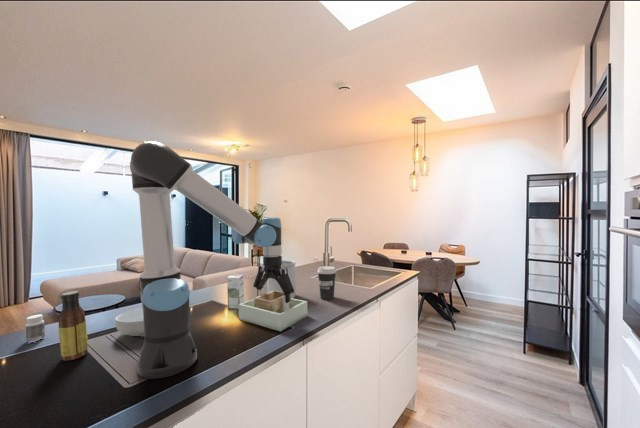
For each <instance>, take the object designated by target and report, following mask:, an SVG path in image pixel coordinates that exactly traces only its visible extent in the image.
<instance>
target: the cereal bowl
mask: <svg viewBox="0 0 640 428" xmlns="http://www.w3.org/2000/svg"><path fill="white" fill-rule="evenodd" d="M114 322H115V324H114V325H115V328H116V330H117V331H118V332H119V333H120V334H122V335H126V336H131V335H132V336H131V337H133V336H141V337H144V336H143V335H144V320H143V307H138V308H134V309H131V310H128V311H125V312H122V313H120V314H118V315H117V316H116V317H115V320H114Z"/></svg>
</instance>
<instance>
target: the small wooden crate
mask: <svg viewBox="0 0 640 428" xmlns="http://www.w3.org/2000/svg"><path fill="white" fill-rule="evenodd" d="M283 295H284V292H280V291H275V290H274V291H272V292H269V293H268V292H266V293H264V295H261V296H256V297H254V298H253V299H254V307H256V308H260V309H264V310H268V311H272V312H276V313H282V312H284V311H283ZM290 308H291V294H290V302H289V309H290Z"/></svg>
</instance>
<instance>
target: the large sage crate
mask: <svg viewBox="0 0 640 428" xmlns="http://www.w3.org/2000/svg"><path fill="white" fill-rule="evenodd" d="M308 315H309V314H308V301H307V300H302V299H297V298H291V308H290V309H288V310H286V311H284V312H282V313H276V312H272V311H268V310H264V309H260V308H256V307H254V298H252V299H250V300H246V301H244V303H241V304H239V309H238V320H241V321H244V322H247V323H251V324H254V325H258V326H261V327H264V328H267V329H271V330H274V331H278V332H282V331H283V330H286V329H287V328H289V327H291V326H293V325H294V324H296V323H298V322H299V321H301V320H302V319H305V318H306V317H308Z"/></svg>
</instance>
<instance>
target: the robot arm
mask: <svg viewBox="0 0 640 428" xmlns="http://www.w3.org/2000/svg"><path fill="white" fill-rule="evenodd" d="M129 167H130V172H131V184H132V191H134V192H135V193H137V195H138V199H139V200H138V201H139V211H140V212H139V213H140V225H141V228H140V229H141V238H142V239H141V240H142V250H143V264H144V265H143V266H144V270H143V271H142V272H141V274H140V275H139V285H140V292H139V293H140V294H139V297H140V302H141V306H142V307H141V308H143V320H144V336H143V345H142V347H141V350H140V354H139V356H138V359H137V363H136V364H137V365H136V367H137V368H136V371H137V375H138V376H139V377H141V378H143V379H149V380H150V379H151V380H156V379H164V378H167V377H168V378H169V377H172V376H175V375H177V374H179V373H182V372H183V371H186V370H188V369H189V368H190V367H191V366H193V365H194V364H195V363H196V361H197V359H198V352H197V347H196V344H195V341H194V339H193V336H192V334H191V325H190V323H191V320H190V319H191V318H190V316H191V315H190V295H191V294H190V293H191V292H190V287H189V284H188V282H186V280H184V279H182V277H181V269H180V268H178V267H177V266H176V265H175V263H176V262H175V251H174V248H175V247H174V238H173V237H174V235H173V222H172V221H173V220H172V209H171V193H172V192H173V191H177V192H179V193H180V194H181V195H183V196H184V197H186V199H188V200H190V201H192V203H194V204H196V205H197V206H199V207H200V208H202V209H203V210H205V211H206V213H209V214H210V215H212V216H214V218H217V220H219V221H221V222H222V223H224V224H225V225H226V226H228V227H229V228H231V237H232V238H231V239H232V241H233V243H234V244H235V245H238V244H241V245H242V244H249V245H253V246H257V247H260V248H262V255H263V257H262V265H260V266H258V269H257V274H256V277H255V279H254V282H253V284H252V285H253V288H255V289H256V291H257V292H256V293H257V294H256V295H257V296H256V297H258V296H261V295H264V294H265V288H264V286H265V284H267V280H268V278H272V279H275V280H276V281H277V282H278V284H279V285H280V287H281V289H282V291H283V292H284V295H283V311H286V310H288V309H289V302H290V294H291V293H293V292H294V289H293V286H292V284H291V281H290V278H289V275H288V269H287V268H285V269H281V264H282V260H283V256H282V229H283V228H282V221H281V218H280V217H263V218H262V220H259V219H258V218H256V216H254V215H252V213H250V212H249V211H247V210H246V209H244V208H243V207H242V206H241V205H239V204H238V203H237V202H235V201H234V200H233V199H232V198H230V197H229V196H227V195H226V194H225V193H224V192H223V191H221V190H219V189H218V188H217V187H216V186H214V185H213V184H212V183H210V182H209V181H208V180H206V179H205V178H204V177H202V176H201V175H199V173H197V172H196V171H194V170H193V165H192V164H191V163H190V162H188V161H187V160H186V159H185V158H183V157H182V156H180V154H178V153H177V152H175V150H173V149H172V148H171V147H169V146H168V145H166V144H164V143H161V142H157V141H145V142H143V143H140V144H139V145H137V146H136V147H135V148H134V149H133V151H132V154H131V157H130V162H129ZM281 274H282V275H281Z"/></svg>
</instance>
